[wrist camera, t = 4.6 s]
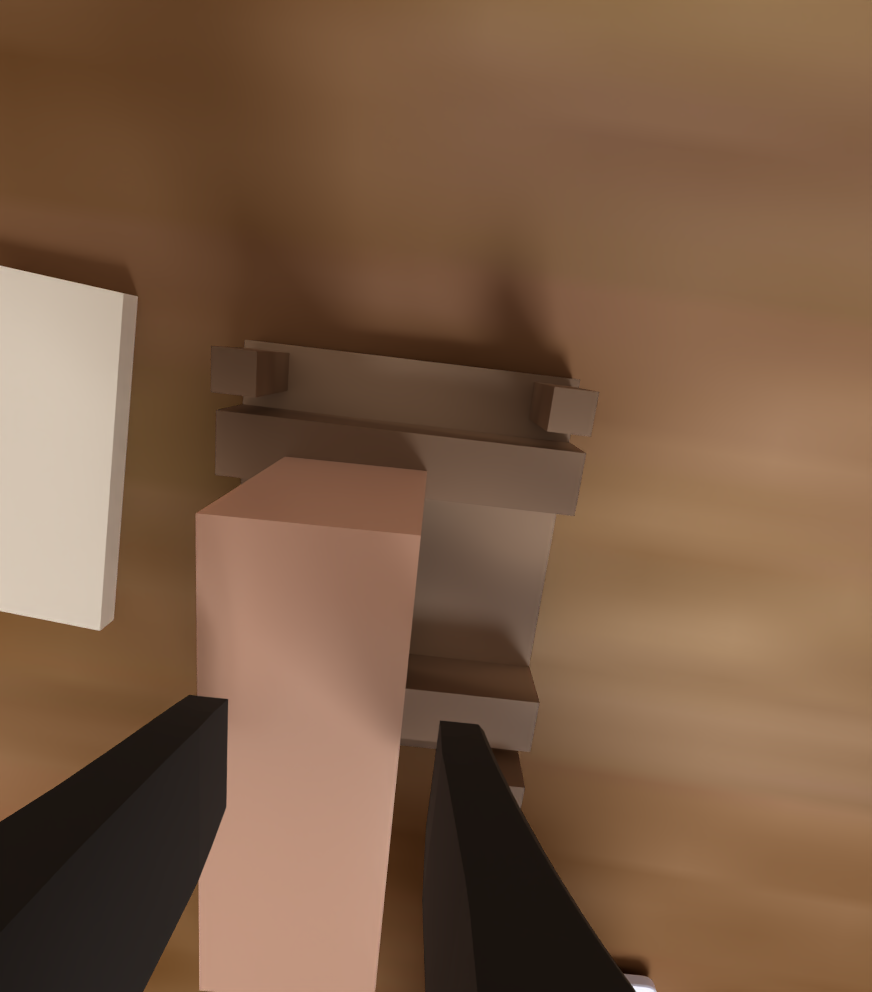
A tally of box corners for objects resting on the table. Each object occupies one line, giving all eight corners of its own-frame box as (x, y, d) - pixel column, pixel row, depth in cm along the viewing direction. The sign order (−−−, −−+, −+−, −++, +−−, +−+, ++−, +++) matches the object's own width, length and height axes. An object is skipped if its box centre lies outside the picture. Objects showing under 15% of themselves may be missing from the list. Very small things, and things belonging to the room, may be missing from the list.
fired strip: (122, 612, 18) (99, 630, 17) (15, 591, 18) (-16, 607, 16) (147, 298, 15) (123, 293, 14) (23, 270, 15) (-12, 263, 14)
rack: (510, 739, 18) (525, 824, 15) (243, 711, 18) (198, 791, 15) (573, 378, 15) (609, 383, 12) (254, 340, 15) (202, 335, 12)
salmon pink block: (393, 805, 16) (373, 1003, 11) (273, 794, 16) (199, 990, 11) (427, 471, 13) (420, 535, 8) (285, 456, 13) (195, 513, 8)
